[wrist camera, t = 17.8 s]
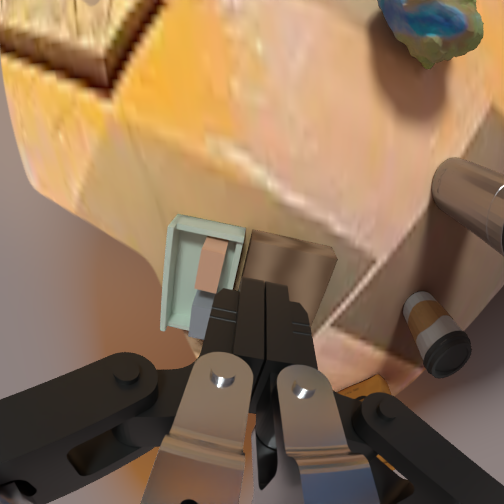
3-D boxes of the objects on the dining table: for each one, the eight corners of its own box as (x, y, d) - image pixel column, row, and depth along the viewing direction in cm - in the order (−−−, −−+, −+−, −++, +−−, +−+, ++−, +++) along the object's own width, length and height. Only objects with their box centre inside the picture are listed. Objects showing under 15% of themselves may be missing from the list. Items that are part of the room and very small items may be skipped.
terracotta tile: (225, 254, 38) (201, 249, 37) (216, 293, 40) (194, 288, 40) (230, 235, 43) (209, 230, 43) (221, 271, 46) (202, 267, 45)
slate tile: (213, 309, 41) (191, 305, 41) (207, 340, 44) (188, 336, 44) (218, 286, 47) (199, 282, 47) (213, 316, 49) (195, 312, 49)
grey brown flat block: (331, 247, 44) (337, 259, 40) (297, 337, 52) (299, 353, 48) (252, 229, 43) (251, 240, 40) (230, 325, 51) (227, 341, 47)
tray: (245, 227, 43) (243, 242, 39) (224, 324, 51) (221, 344, 46) (177, 213, 43) (167, 226, 38) (167, 311, 50) (160, 330, 46)
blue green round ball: (415, -61, 12) (460, 64, 19) (488, -25, 14) (517, 73, 21) (346, -25, 24) (376, 71, 31) (423, -10, 27) (446, 71, 33)
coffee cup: (408, 329, 51) (438, 387, 37) (389, 306, 49) (420, 367, 35) (442, 302, 48) (479, 355, 35) (425, 276, 46) (466, 330, 32)
